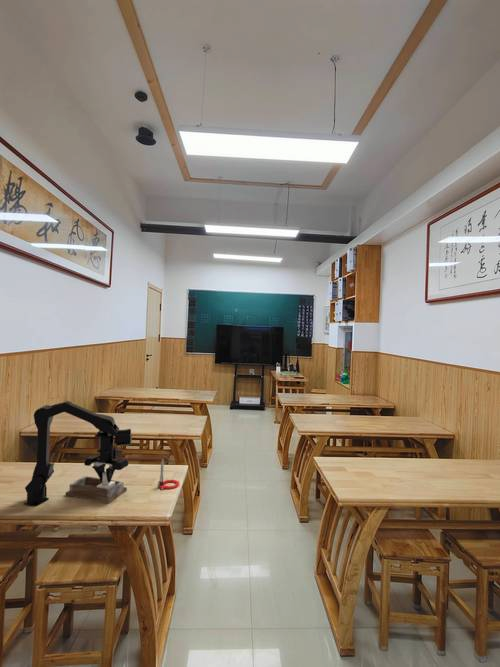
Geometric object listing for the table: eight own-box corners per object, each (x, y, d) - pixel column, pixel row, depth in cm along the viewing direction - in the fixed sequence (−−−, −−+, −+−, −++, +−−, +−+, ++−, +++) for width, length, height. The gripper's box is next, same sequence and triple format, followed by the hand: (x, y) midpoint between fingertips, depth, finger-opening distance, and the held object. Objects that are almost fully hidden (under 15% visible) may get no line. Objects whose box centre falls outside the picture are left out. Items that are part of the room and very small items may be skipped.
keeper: (105, 494, 140) (106, 476, 140) (96, 493, 141) (96, 474, 142) (115, 488, 146) (115, 470, 146) (105, 487, 147) (106, 469, 147)
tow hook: (176, 480, 160) (157, 483, 156) (178, 454, 160) (159, 456, 156) (181, 488, 152) (160, 491, 148) (183, 460, 152) (162, 462, 148)
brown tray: (108, 503, 136) (108, 493, 136) (65, 496, 142) (65, 485, 142) (126, 490, 148) (126, 480, 148) (86, 484, 154) (86, 474, 154)
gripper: (136, 442, 149) (135, 476, 149) (101, 438, 154) (101, 471, 154) (120, 450, 138) (119, 487, 138) (83, 446, 143) (83, 481, 143)
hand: (106, 481), depth 144 cm, fingers closed on keeper, 3 cm apart
